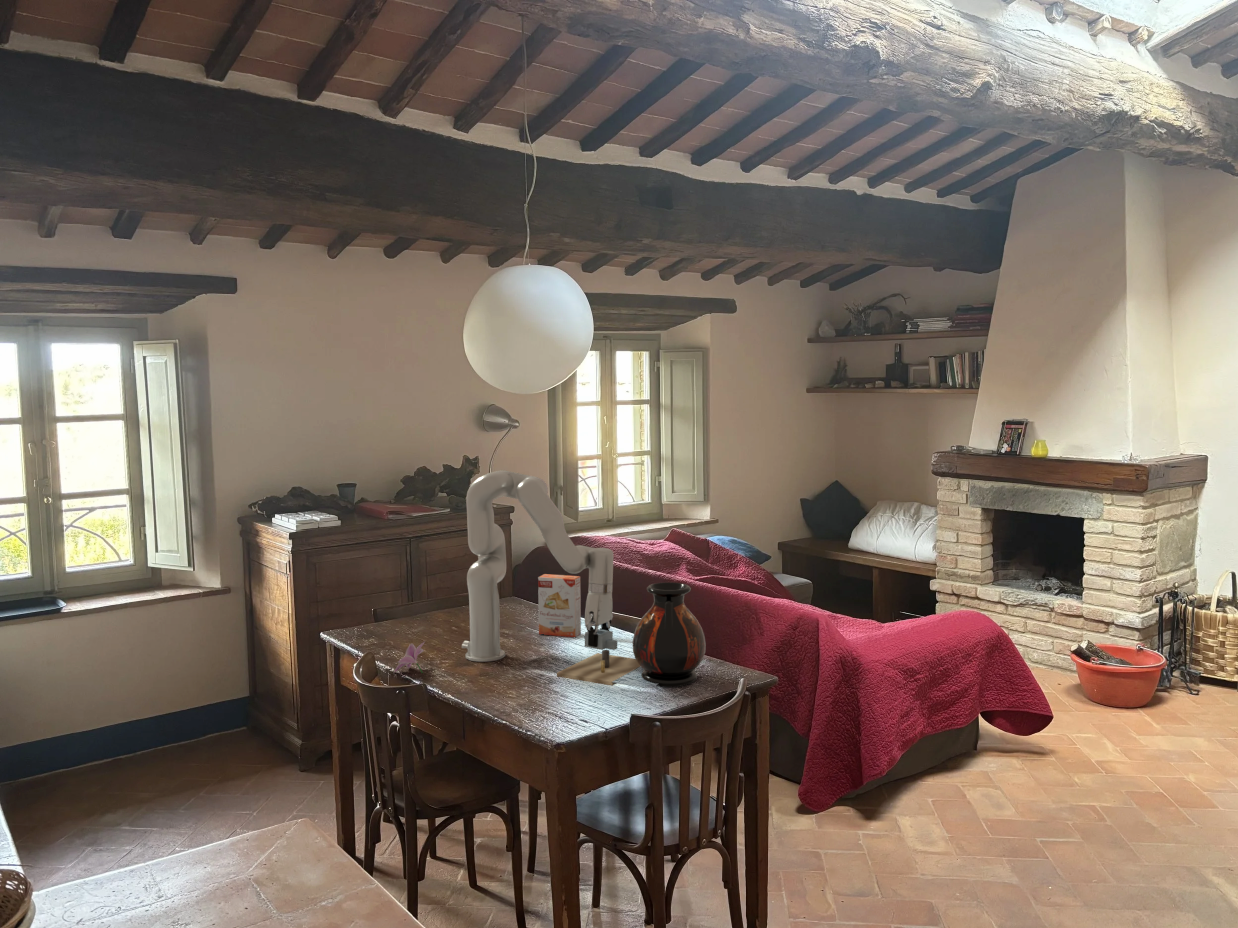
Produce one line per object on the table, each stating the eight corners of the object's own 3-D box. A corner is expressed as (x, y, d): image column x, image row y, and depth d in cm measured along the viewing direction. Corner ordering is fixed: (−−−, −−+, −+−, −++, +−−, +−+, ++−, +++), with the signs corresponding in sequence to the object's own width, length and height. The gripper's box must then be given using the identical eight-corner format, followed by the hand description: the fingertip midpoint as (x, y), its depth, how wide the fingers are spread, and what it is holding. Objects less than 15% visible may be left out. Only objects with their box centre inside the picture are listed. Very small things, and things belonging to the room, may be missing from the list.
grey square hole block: (584, 646, 292) (585, 632, 292) (594, 642, 298) (595, 628, 297) (610, 651, 287) (611, 637, 287) (620, 646, 293) (621, 632, 293)
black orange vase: (634, 668, 286) (633, 578, 284) (704, 669, 284) (704, 579, 282) (630, 690, 264) (630, 593, 262) (706, 691, 263) (706, 594, 261)
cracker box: (538, 635, 326) (537, 576, 325) (544, 630, 332) (544, 573, 331) (575, 638, 322) (574, 578, 321) (581, 633, 328) (580, 575, 326)
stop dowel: (600, 672, 278) (600, 660, 278) (602, 671, 279) (602, 659, 279) (603, 672, 277) (603, 661, 277) (605, 671, 278) (605, 660, 278)
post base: (556, 676, 278) (556, 656, 277) (597, 656, 299) (597, 637, 298) (612, 685, 269) (611, 664, 268) (650, 664, 290) (649, 645, 289)
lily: (430, 668, 291) (416, 641, 292) (443, 662, 282) (428, 634, 282) (397, 687, 284) (382, 659, 285) (409, 681, 275) (393, 652, 275)
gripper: (603, 581, 301) (602, 635, 303) (575, 590, 286) (573, 647, 287) (624, 584, 297) (622, 639, 299) (596, 594, 282) (594, 651, 284)
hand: (598, 643), depth 293 cm, fingers closed on grey square hole block, 6 cm apart
